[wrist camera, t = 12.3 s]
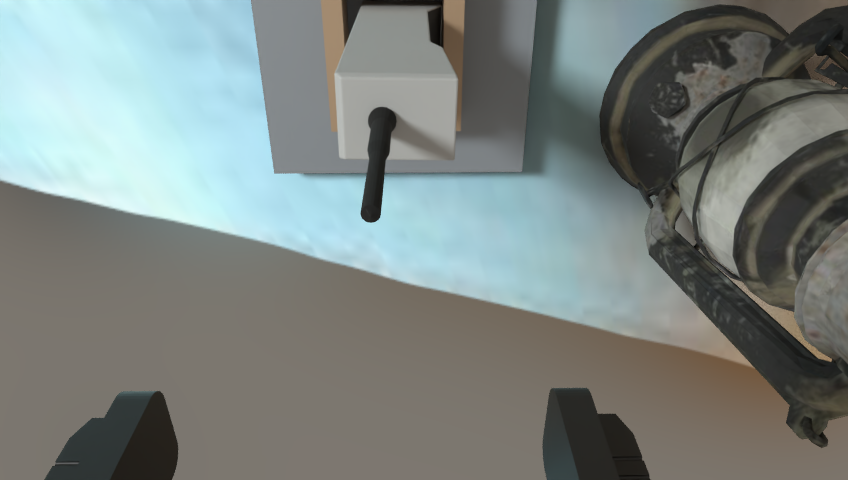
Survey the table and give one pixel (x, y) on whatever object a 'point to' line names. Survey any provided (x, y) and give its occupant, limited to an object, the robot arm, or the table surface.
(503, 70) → the square socket base
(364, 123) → the vintage mobile phone
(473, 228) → the table surface
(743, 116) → the lantern
